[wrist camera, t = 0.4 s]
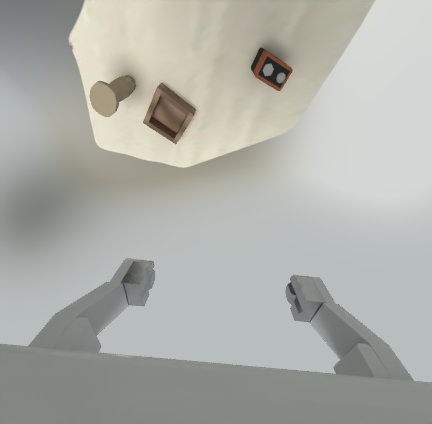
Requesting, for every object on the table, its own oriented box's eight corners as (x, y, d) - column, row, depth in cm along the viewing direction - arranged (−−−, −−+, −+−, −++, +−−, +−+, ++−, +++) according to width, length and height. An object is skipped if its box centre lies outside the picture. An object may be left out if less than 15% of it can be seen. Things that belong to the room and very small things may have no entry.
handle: (142, 77, 45) (119, 94, 35) (135, 100, 49) (112, 121, 39) (123, 63, 43) (92, 76, 33) (117, 88, 46) (88, 107, 36)
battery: (260, 46, 40) (267, 52, 33) (283, 62, 42) (295, 70, 35) (249, 68, 43) (254, 77, 36) (272, 82, 45) (281, 93, 38)
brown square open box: (161, 82, 45) (157, 87, 42) (195, 109, 50) (193, 115, 47) (147, 116, 52) (142, 122, 49) (178, 137, 56) (176, 144, 53)
